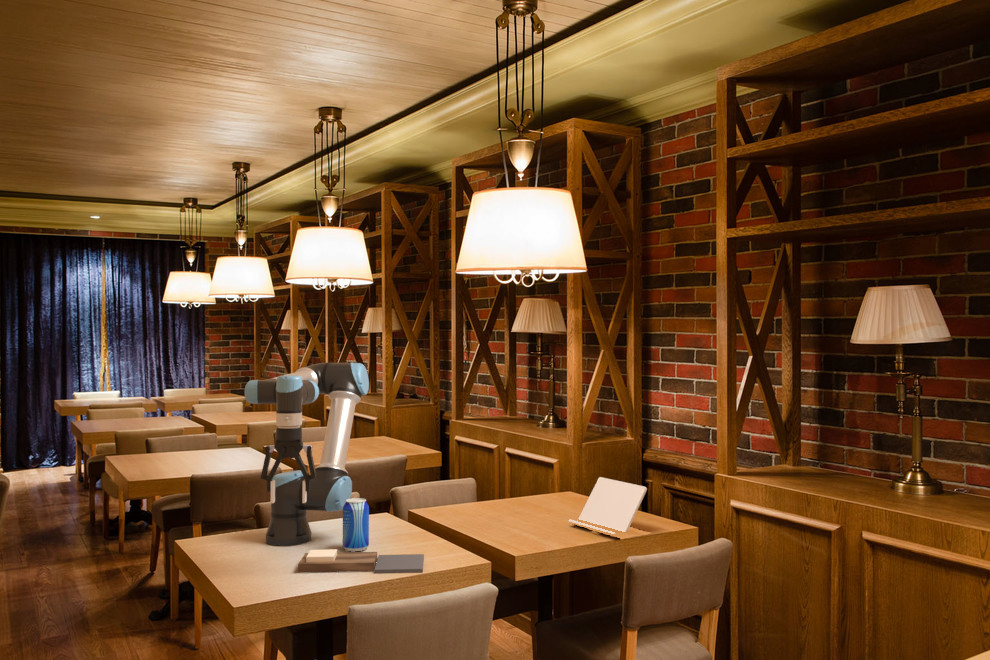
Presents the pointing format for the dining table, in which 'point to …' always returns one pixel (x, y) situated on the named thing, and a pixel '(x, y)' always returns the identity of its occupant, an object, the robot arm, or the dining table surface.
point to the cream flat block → (321, 555)
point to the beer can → (355, 525)
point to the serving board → (341, 563)
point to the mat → (399, 563)
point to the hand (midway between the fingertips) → (288, 502)
